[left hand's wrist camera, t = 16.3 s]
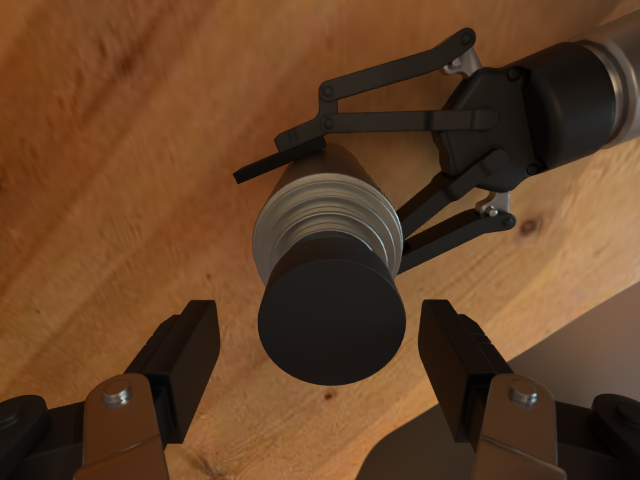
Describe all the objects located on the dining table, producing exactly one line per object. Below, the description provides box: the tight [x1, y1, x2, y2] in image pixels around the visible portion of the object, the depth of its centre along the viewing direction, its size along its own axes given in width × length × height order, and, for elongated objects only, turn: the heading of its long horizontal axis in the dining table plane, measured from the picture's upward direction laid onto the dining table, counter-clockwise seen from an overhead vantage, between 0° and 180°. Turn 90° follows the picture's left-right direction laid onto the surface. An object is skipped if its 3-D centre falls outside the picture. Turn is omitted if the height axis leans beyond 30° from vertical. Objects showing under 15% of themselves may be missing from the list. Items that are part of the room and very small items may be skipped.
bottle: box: [252, 143, 403, 286], centre depth 21 cm, size 7×7×22 cm
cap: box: [258, 237, 406, 386], centre depth 11 cm, size 4×4×2 cm
